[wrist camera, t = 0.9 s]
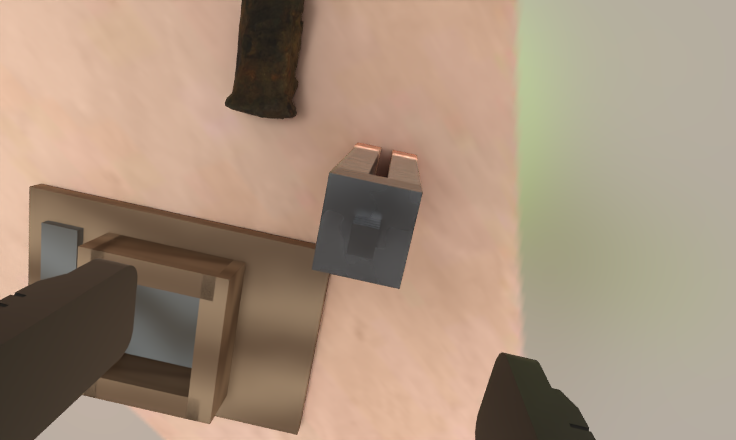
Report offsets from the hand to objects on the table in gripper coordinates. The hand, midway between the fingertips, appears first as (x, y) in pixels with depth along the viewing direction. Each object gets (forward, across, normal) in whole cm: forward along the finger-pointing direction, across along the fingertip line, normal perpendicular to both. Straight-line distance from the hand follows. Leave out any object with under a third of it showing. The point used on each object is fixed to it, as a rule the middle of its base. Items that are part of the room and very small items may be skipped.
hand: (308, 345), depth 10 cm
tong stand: (+20, +11, +12) cm, 26 cm away
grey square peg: (+20, 0, 0) cm, 20 cm away
